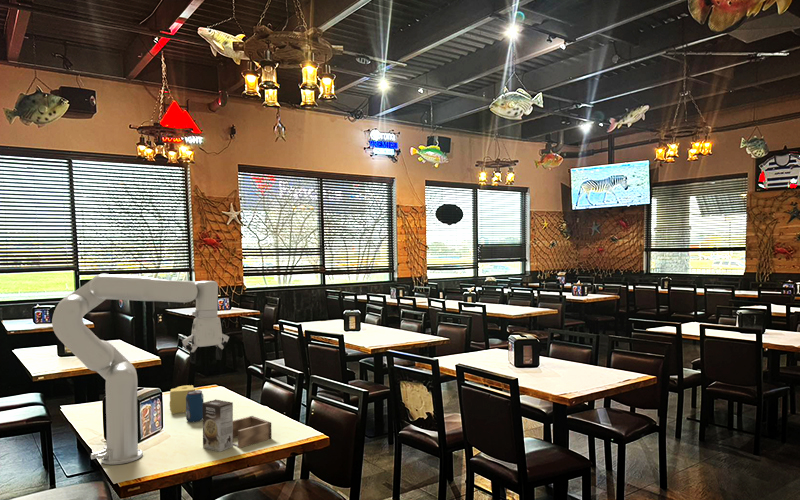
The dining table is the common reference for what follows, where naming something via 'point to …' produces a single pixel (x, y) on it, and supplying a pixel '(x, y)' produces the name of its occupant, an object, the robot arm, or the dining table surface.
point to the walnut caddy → (251, 431)
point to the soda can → (194, 406)
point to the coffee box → (217, 425)
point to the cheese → (179, 398)
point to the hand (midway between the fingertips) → (206, 361)
